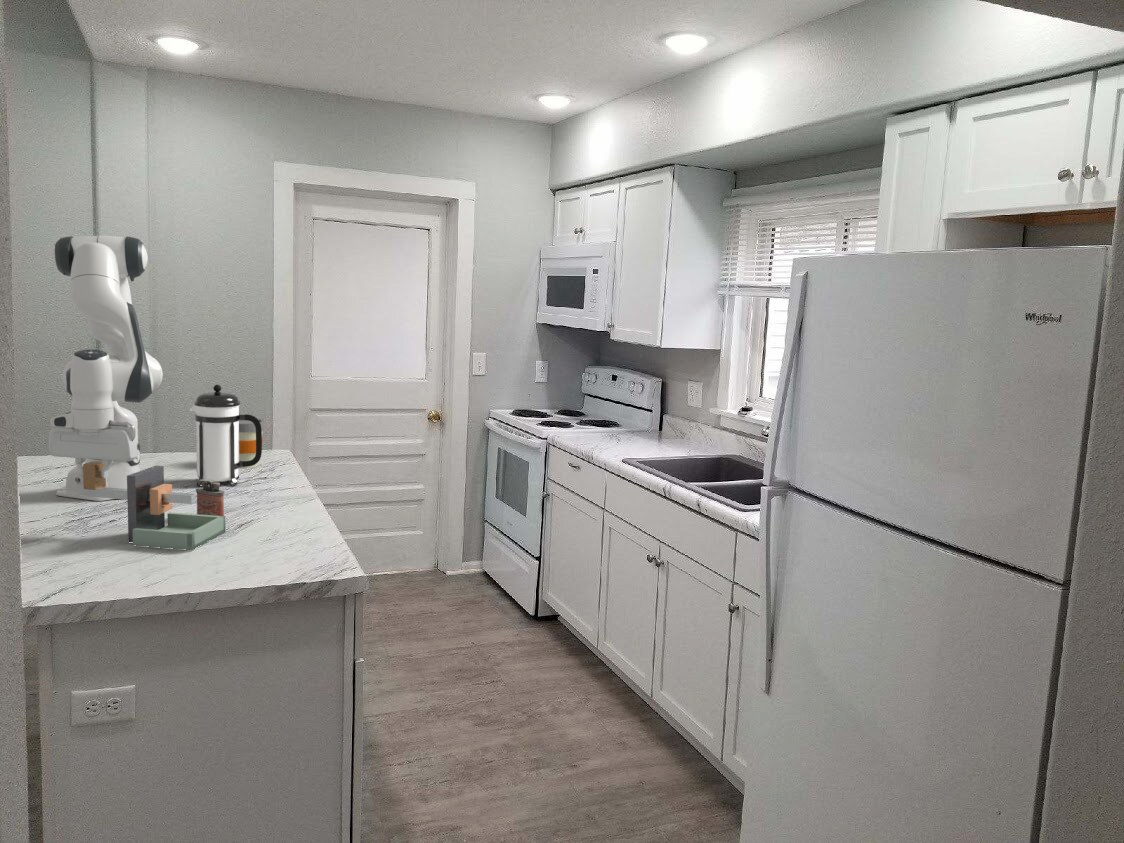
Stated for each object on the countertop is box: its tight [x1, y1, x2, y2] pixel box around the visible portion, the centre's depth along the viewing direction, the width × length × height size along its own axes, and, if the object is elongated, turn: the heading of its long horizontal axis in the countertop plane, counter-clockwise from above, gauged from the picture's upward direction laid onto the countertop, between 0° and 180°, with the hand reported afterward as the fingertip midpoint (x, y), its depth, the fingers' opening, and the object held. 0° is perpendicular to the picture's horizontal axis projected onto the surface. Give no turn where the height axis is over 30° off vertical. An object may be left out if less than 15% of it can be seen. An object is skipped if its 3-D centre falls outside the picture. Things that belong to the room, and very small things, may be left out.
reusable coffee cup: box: [239, 418, 265, 469], centre depth 290 cm, size 13×13×15 cm
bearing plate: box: [126, 465, 166, 543], centre depth 207 cm, size 2×12×16 cm, turn 175°
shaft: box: [83, 461, 197, 505], centre depth 206 cm, size 26×4×8 cm, turn 85°
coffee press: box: [189, 384, 263, 487], centre depth 264 cm, size 17×16×30 cm
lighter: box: [195, 479, 225, 516], centre depth 226 cm, size 8×3×10 cm, turn 71°
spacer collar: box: [150, 483, 173, 515], centre depth 207 cm, size 2×6×6 cm, turn 175°
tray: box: [132, 511, 226, 551], centre depth 207 cm, size 14×16×4 cm
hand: (94, 477), depth 207 cm, fingers closed on shaft, 3 cm apart
